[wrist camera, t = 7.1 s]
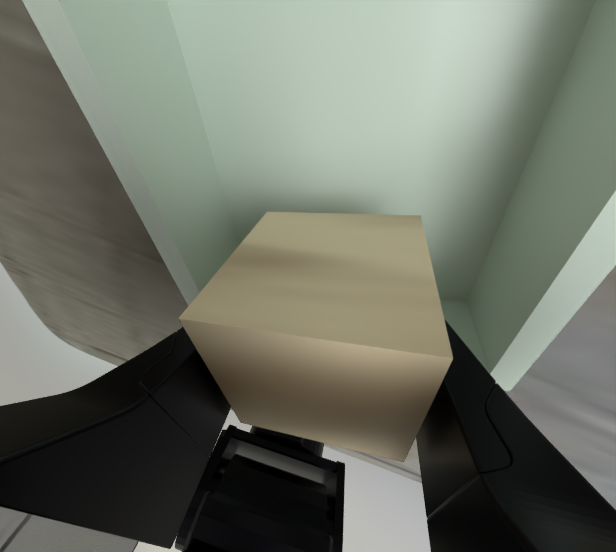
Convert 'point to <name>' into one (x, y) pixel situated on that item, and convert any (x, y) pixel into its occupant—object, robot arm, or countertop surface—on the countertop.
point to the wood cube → (327, 329)
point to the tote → (367, 136)
